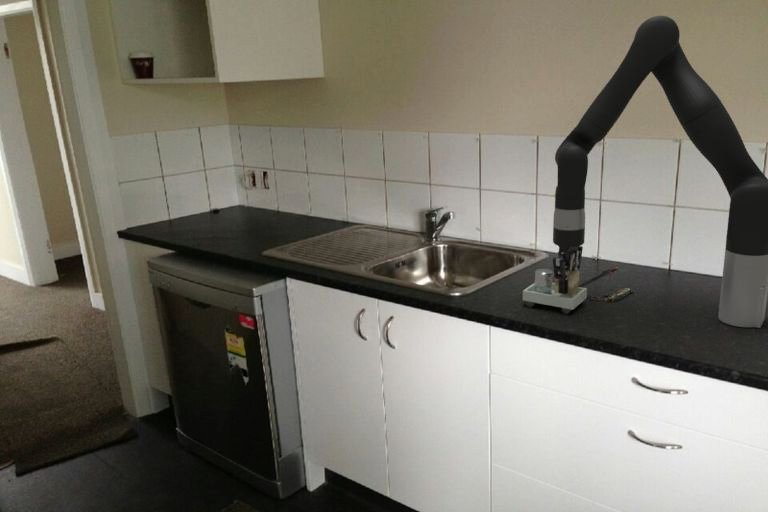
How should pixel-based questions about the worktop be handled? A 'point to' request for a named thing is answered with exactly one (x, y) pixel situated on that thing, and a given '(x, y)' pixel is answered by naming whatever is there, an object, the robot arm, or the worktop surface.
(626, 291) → the fantasy weapon
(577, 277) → the brass block
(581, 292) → the footed soap dish
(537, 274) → the steel cylinder
